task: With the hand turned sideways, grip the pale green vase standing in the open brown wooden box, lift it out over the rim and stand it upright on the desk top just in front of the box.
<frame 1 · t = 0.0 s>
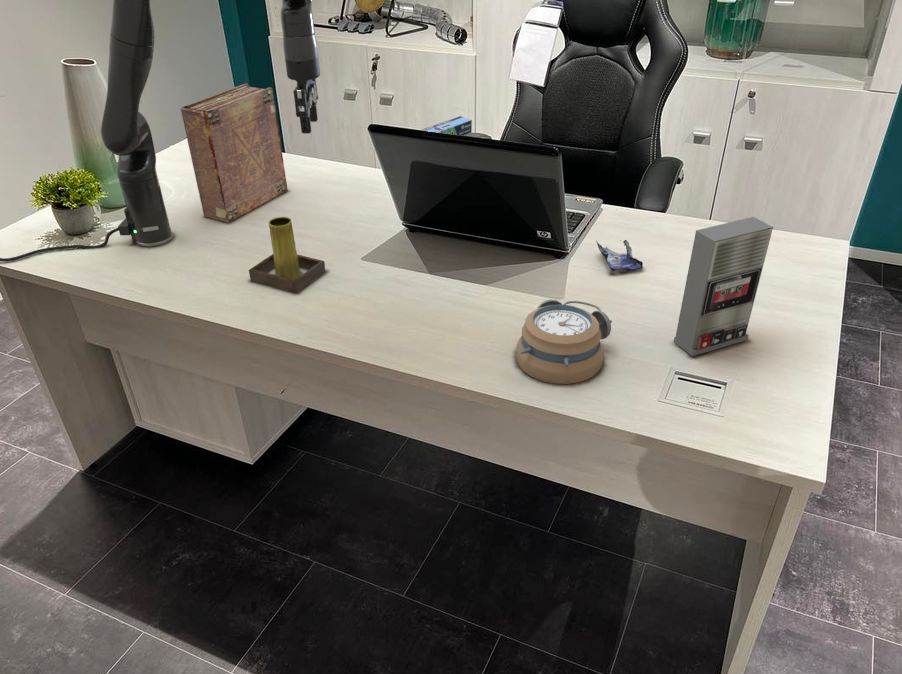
hand: (309, 127, 182), 29 cm above the table, tool pointing down, fingers open, 8 cm apart
alarm clock: (564, 352, 154), on the table
snack package: (617, 264, 184), on the table
vase: (288, 277, 183), resting in open brown wooden box
book: (247, 204, 219), on the table
cassette tape recorder: (710, 343, 156), on the table
open brown wooden box: (288, 276, 183), on the table
gum box: (441, 208, 213), on the table
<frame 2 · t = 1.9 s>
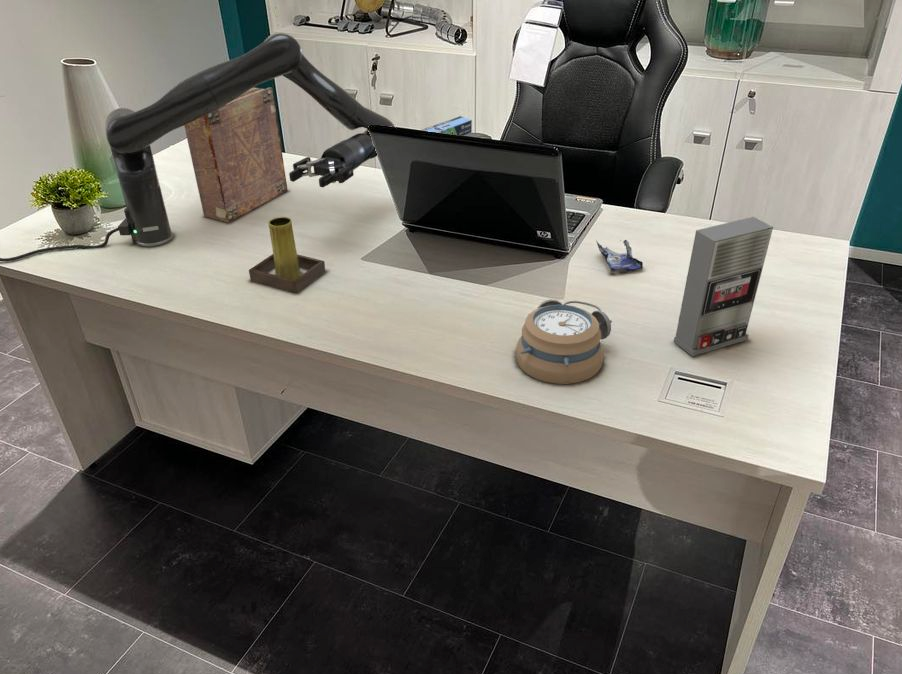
hand: (305, 180, 179), 20 cm above the table, tool horizontal, fingers open, 8 cm apart
nothing on the table moved.
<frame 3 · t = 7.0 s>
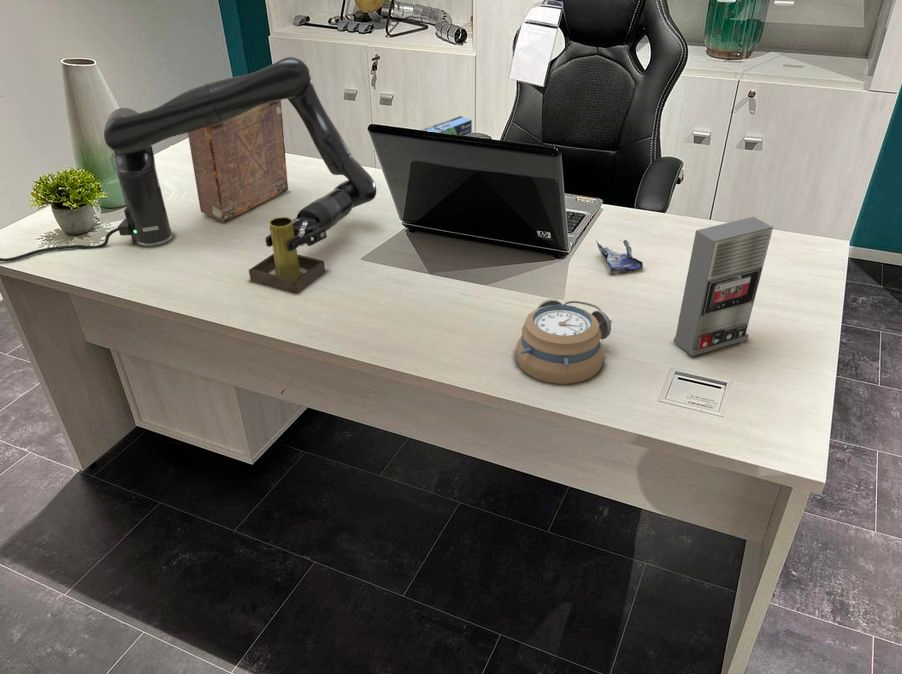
hand: (277, 245, 176), 9 cm above the table, tool horizontal, fingers closed on vase, 5 cm apart
vase: (288, 276, 183), resting in open brown wooden box, touching gripper
book: (245, 201, 218), point 1 cm above the table, touching arm
everything else where it was.
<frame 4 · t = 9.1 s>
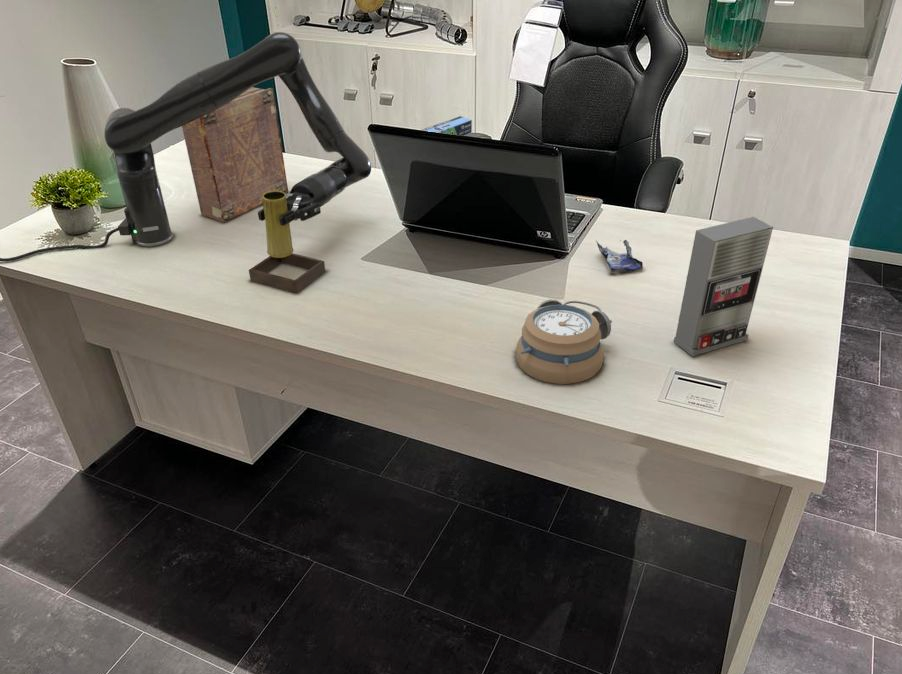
hand: (270, 219, 172), 16 cm above the table, tool horizontal, fingers closed on vase, 5 cm apart
vase: (280, 252, 179), point 6 cm above the table, touching gripper
book: (246, 204, 219), on the table
everything else where it was.
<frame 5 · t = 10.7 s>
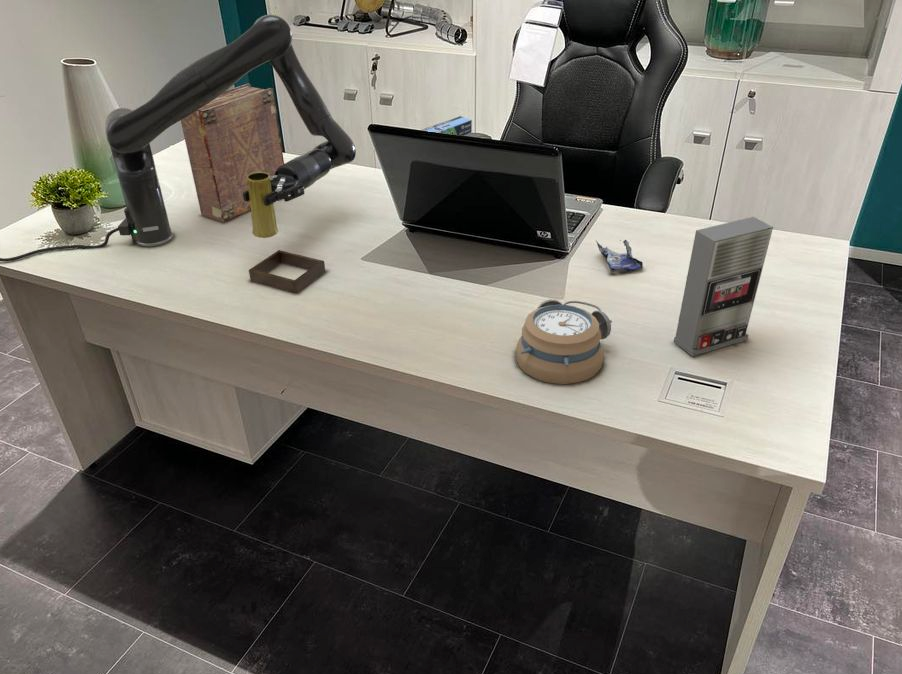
hand: (254, 199, 176), 18 cm above the table, tool horizontal, fingers closed on vase, 5 cm apart
vase: (265, 233, 184), point 8 cm above the table, touching gripper
everything else where it was.
when the fingers open (9 cm above the table, at t = 14.6 s): vase stays where it is, on the table.
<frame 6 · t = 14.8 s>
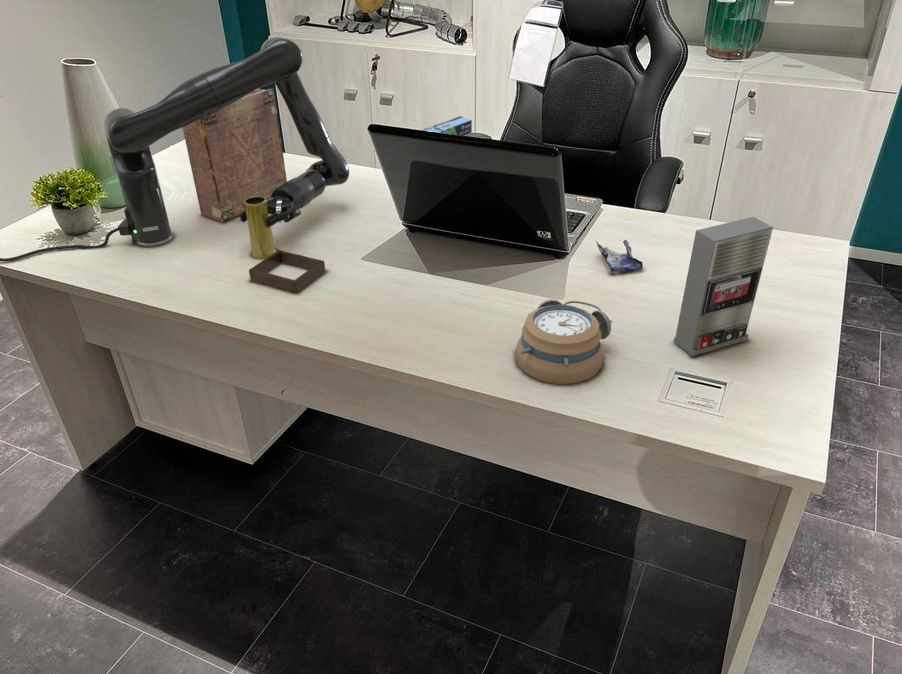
hand: (253, 221, 186), 10 cm above the table, tool horizontal, fingers open, 7 cm apart
vase: (264, 253, 193), on the table
book: (246, 204, 219), on the table, touching arm
everything else where it was.
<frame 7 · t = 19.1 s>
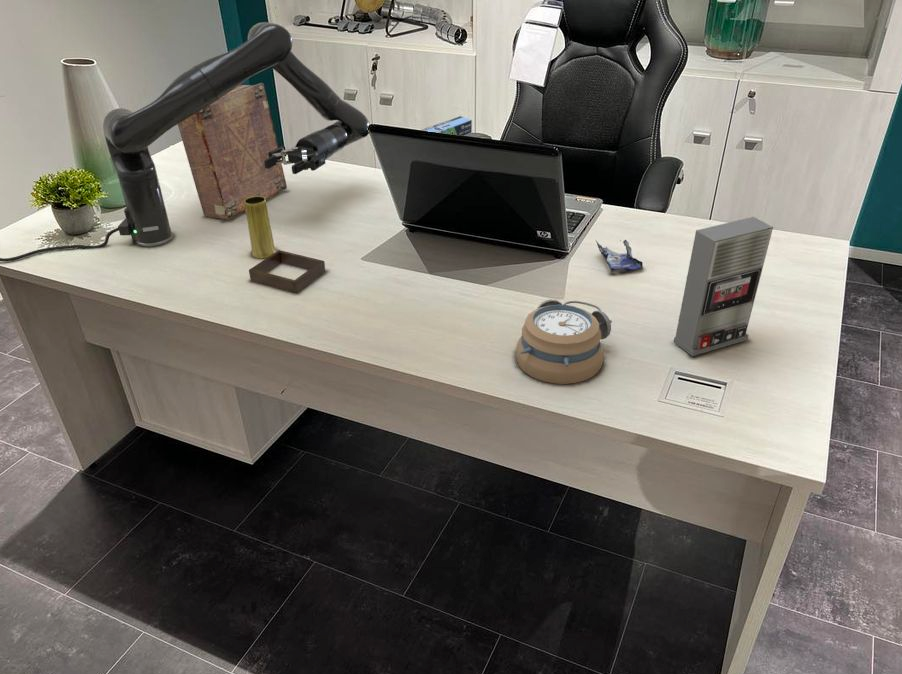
hand: (279, 167, 190), 19 cm above the table, tool horizontal, fingers open, 8 cm apart
book: (247, 202, 219), on the table
everything else where it was.
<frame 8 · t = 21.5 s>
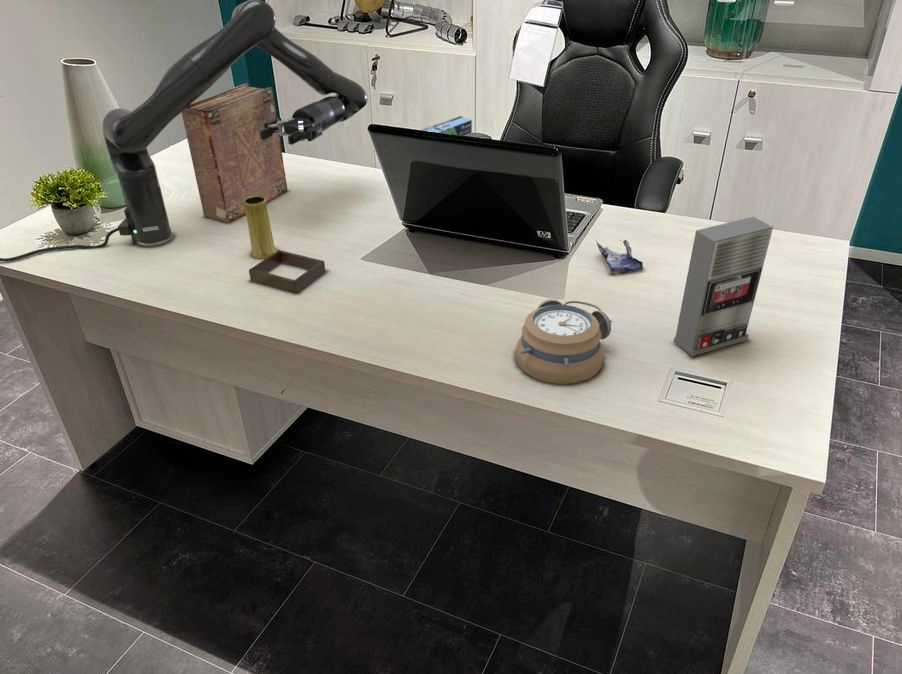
hand: (275, 138, 186), 26 cm above the table, tool horizontal, fingers open, 8 cm apart
at the end: vase inside the target area (0.3 cm from its centre), on the table; vase tilted 0°; vase touching table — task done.
